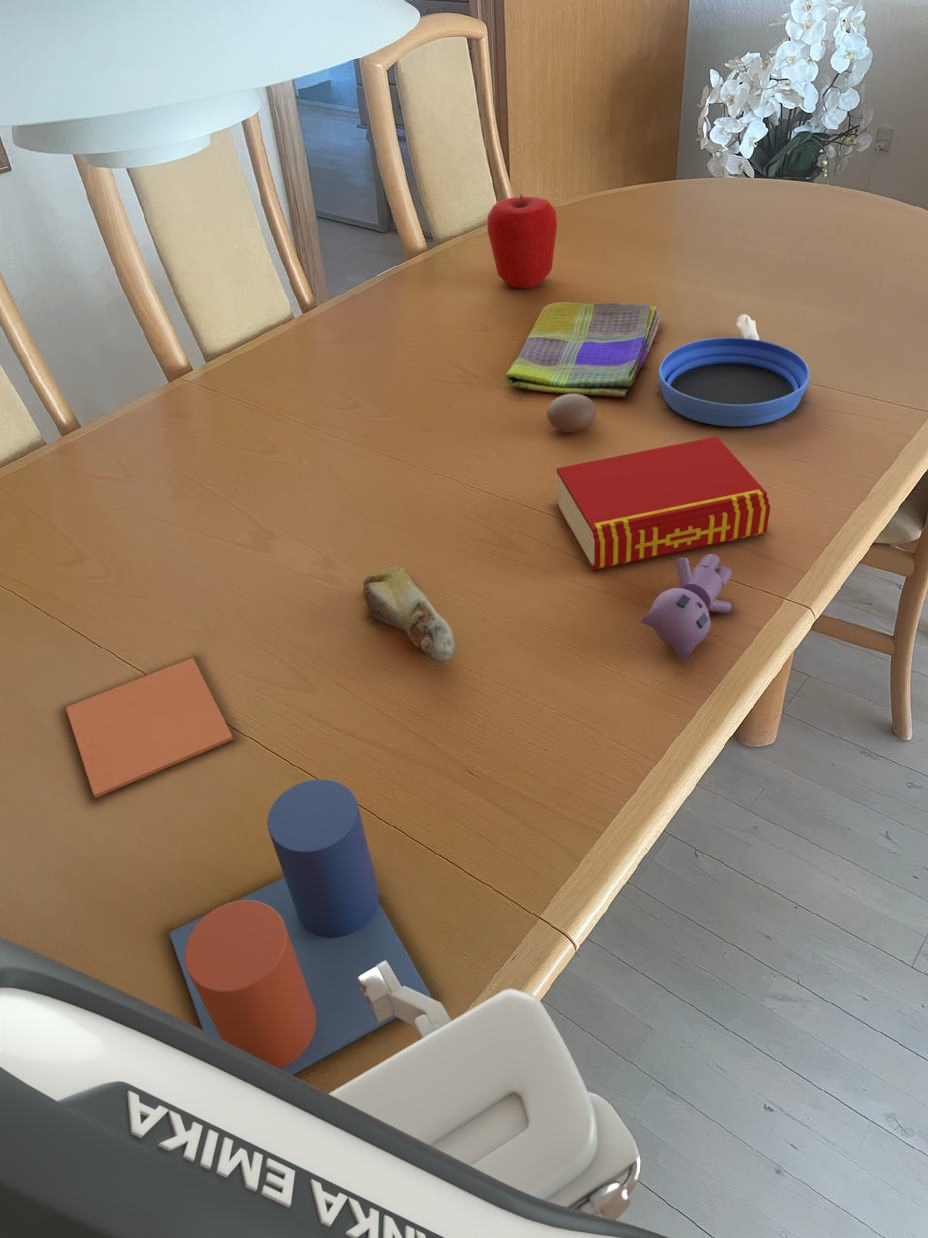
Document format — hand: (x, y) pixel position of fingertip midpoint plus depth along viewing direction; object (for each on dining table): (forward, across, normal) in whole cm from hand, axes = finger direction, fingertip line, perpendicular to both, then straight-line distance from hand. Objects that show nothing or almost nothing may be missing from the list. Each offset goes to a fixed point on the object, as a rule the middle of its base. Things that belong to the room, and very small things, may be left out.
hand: (276, 1028), depth 43 cm
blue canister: (+19, -7, +19) cm, 28 cm away
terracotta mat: (+45, 0, +19) cm, 49 cm away
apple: (+108, -79, +18) cm, 135 cm away
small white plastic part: (+70, -91, +19) cm, 117 cm away
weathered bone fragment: (+42, -25, +19) cm, 53 cm away
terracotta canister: (+12, 0, +19) cm, 23 cm away
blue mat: (+16, -3, +20) cm, 26 cm away
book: (+43, -55, +20) cm, 73 cm away
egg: (+65, -59, +19) cm, 90 cm away
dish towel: (+81, -72, +19) cm, 110 cm away
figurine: (+29, -48, +20) cm, 59 cm away
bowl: (+60, -80, +19) cm, 101 cm away
